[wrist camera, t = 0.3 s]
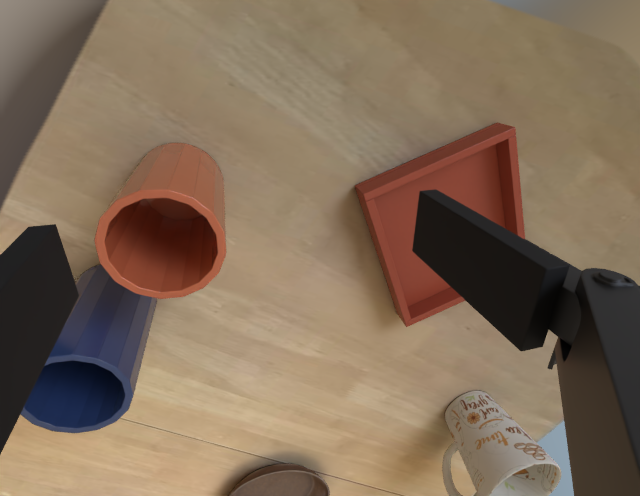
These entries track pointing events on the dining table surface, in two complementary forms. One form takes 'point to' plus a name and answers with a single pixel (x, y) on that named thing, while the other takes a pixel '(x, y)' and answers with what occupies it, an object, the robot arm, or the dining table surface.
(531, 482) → the mug
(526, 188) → the dining table surface
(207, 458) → the dining table surface
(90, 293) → the blue tumbler
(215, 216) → the terracotta tumbler
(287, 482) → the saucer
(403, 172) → the red tray
